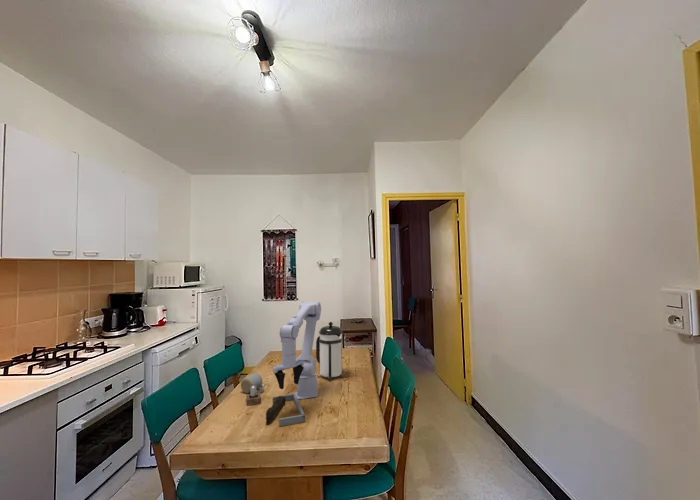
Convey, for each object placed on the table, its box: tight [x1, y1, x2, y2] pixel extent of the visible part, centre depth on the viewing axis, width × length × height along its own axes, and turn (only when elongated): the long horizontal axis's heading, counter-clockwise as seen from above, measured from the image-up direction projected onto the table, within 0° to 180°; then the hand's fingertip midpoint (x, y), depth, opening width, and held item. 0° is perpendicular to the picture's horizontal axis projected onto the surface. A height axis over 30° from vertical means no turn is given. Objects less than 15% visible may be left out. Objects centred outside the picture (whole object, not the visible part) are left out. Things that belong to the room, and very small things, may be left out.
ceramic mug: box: [240, 372, 265, 394], centre depth 156 cm, size 11×8×8 cm
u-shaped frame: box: [272, 393, 306, 427], centre depth 134 cm, size 10×23×2 cm, turn 20°
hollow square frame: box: [245, 393, 262, 407], centre depth 144 cm, size 6×6×2 cm
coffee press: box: [315, 321, 345, 382], centre depth 177 cm, size 17×16×30 cm
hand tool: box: [265, 395, 286, 425], centre depth 132 cm, size 19×4×5 cm, turn 173°
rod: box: [249, 385, 256, 398], centre depth 144 cm, size 3×3×7 cm
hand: (288, 386), depth 135 cm, fingers open, 7 cm apart
